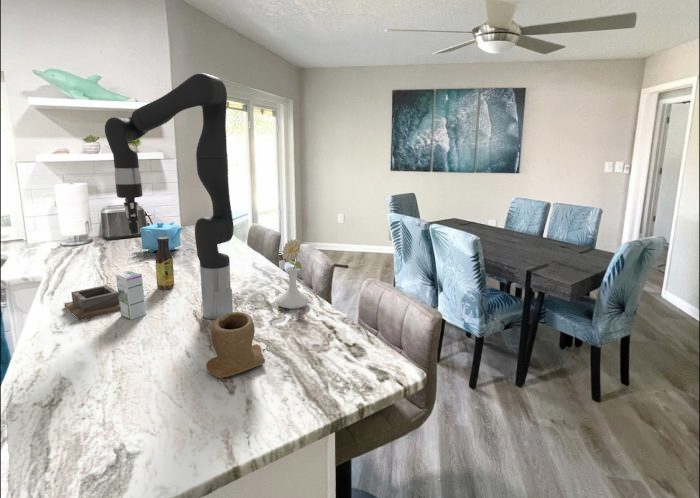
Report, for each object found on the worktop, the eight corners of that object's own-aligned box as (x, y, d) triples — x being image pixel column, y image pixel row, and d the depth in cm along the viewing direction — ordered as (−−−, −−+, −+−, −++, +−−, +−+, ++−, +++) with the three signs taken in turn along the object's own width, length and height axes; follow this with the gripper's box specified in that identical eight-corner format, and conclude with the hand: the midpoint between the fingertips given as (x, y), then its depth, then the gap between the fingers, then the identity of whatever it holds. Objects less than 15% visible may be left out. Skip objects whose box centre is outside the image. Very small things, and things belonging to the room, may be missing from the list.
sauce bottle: (168, 291, 165) (164, 240, 160) (153, 289, 166) (149, 239, 161) (178, 285, 171) (174, 236, 166) (164, 284, 172) (160, 235, 168)
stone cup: (219, 388, 102) (216, 330, 99) (201, 367, 111) (198, 313, 108) (276, 369, 111) (275, 315, 108) (255, 351, 120) (254, 301, 117)
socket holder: (128, 307, 148) (127, 292, 147) (79, 320, 137) (77, 304, 136) (112, 296, 158) (110, 282, 156) (64, 307, 147) (62, 292, 145)
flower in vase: (273, 301, 157) (272, 234, 151) (303, 298, 162) (303, 233, 156) (282, 315, 146) (281, 243, 140) (314, 311, 150) (315, 240, 144)
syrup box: (146, 314, 143) (143, 272, 139) (129, 320, 138) (125, 277, 135) (136, 310, 146) (132, 269, 142) (119, 316, 141) (115, 273, 137)
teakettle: (139, 249, 224) (136, 221, 221) (176, 244, 235) (174, 218, 232) (147, 257, 210) (144, 227, 206) (187, 252, 220) (185, 224, 217)
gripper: (143, 183, 135) (148, 234, 139) (139, 180, 147) (144, 226, 151) (116, 184, 132) (122, 236, 136) (114, 180, 144) (120, 228, 148)
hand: (133, 231), depth 144 cm, fingers open, 8 cm apart
